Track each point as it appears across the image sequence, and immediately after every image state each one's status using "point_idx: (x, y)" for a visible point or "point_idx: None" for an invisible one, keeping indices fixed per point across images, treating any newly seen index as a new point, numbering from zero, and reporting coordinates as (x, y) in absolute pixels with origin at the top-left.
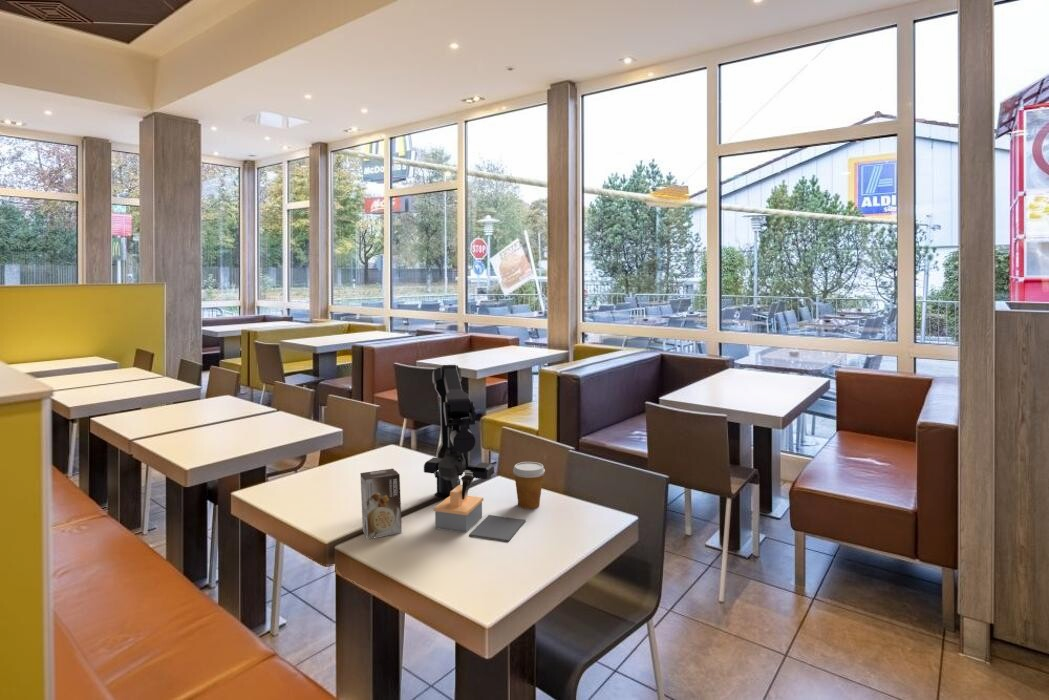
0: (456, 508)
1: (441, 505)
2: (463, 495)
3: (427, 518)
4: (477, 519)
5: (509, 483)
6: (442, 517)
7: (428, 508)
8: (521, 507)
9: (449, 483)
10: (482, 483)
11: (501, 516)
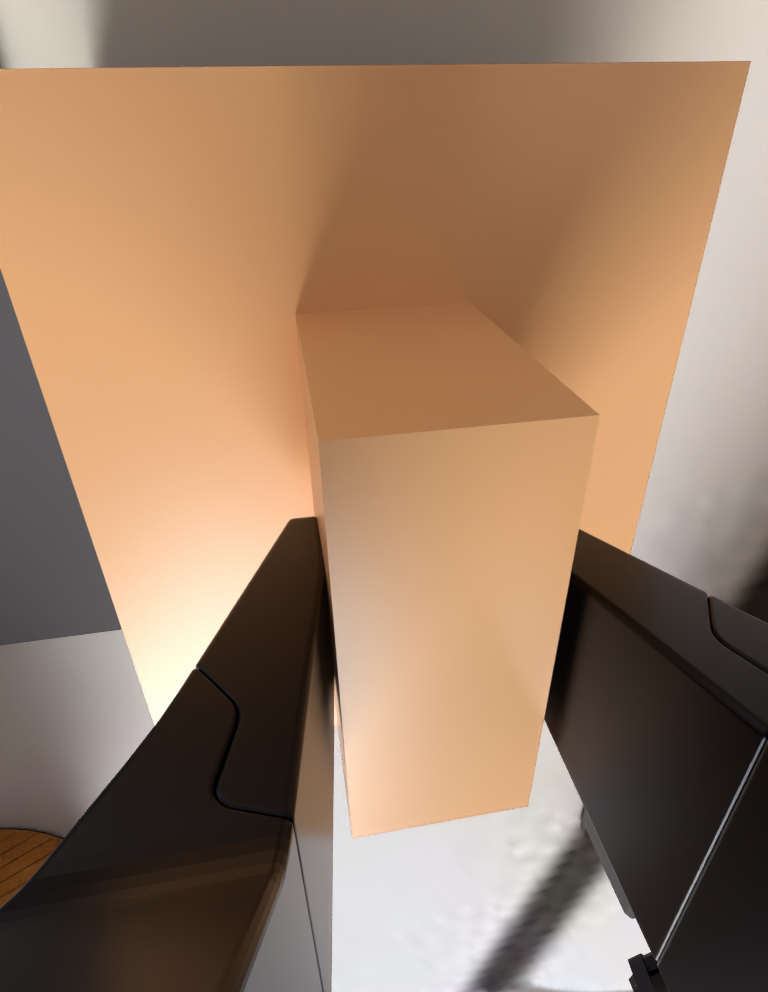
0: (297, 226)
1: (630, 260)
2: (287, 554)
3: (706, 348)
4: None
5: (344, 988)
6: None
7: (741, 539)
8: (19, 831)
9: (765, 672)
10: (495, 933)
11: (11, 642)
